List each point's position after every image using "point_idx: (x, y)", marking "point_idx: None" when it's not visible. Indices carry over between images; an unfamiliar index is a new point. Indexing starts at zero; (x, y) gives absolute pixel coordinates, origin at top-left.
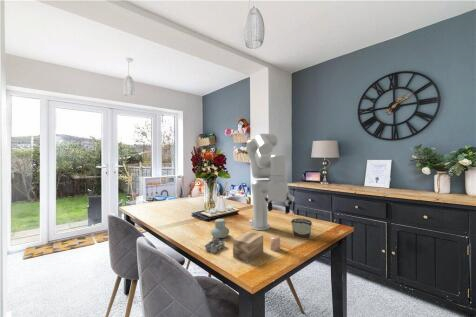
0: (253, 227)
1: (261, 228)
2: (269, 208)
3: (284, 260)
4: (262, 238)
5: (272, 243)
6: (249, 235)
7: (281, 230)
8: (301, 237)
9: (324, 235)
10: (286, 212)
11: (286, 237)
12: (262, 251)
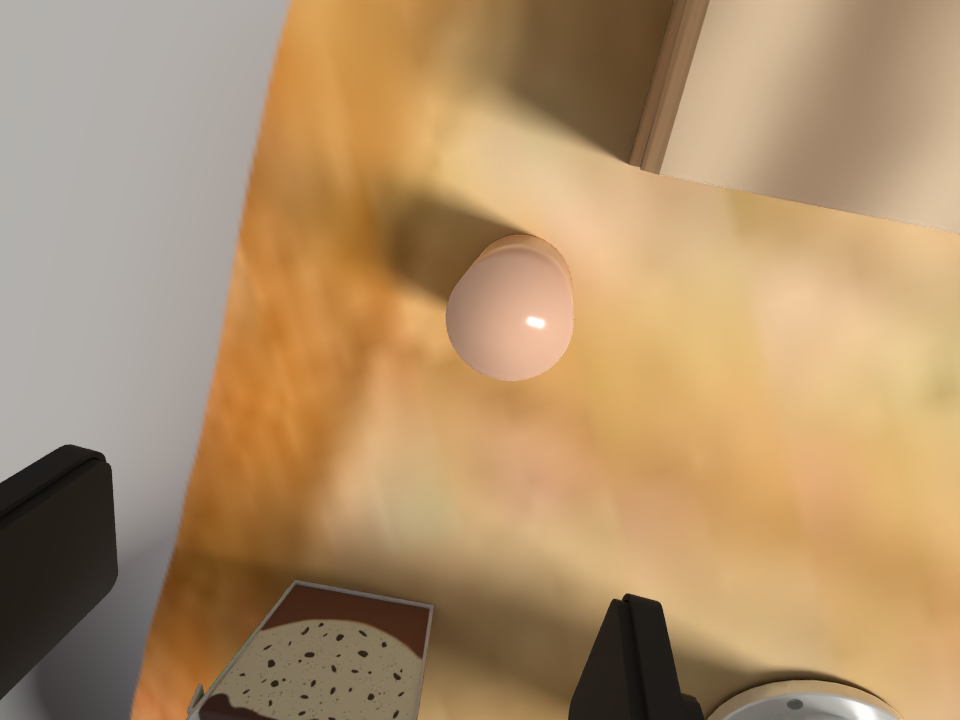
0: (881, 714)
1: (780, 703)
2: (628, 667)
3: (363, 53)
4: (657, 152)
5: (534, 250)
6: (907, 33)
7: None
8: (361, 598)
9: None
10: (41, 463)
11: (489, 578)
12: (634, 145)
